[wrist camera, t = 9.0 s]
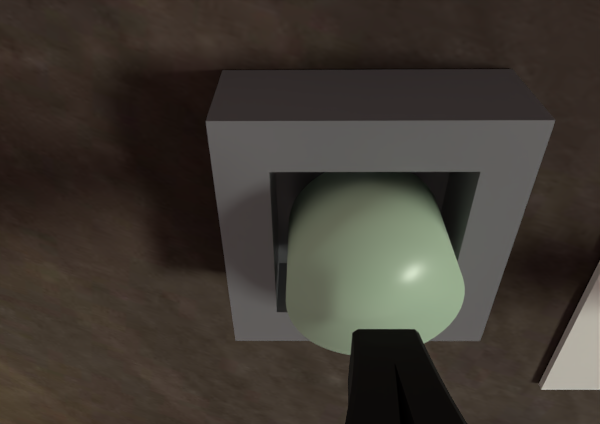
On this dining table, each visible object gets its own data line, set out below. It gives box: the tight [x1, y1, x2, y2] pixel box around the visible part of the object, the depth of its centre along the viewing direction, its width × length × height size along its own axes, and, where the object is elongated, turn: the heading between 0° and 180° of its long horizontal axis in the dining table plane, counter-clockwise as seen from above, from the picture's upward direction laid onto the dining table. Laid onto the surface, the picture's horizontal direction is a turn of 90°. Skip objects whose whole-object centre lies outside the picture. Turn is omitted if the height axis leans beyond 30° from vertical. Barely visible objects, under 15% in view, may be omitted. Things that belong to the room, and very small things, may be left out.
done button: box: [286, 172, 465, 355], centre depth 14 cm, size 4×4×3 cm
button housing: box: [206, 69, 555, 341], centre depth 15 cm, size 8×8×3 cm
